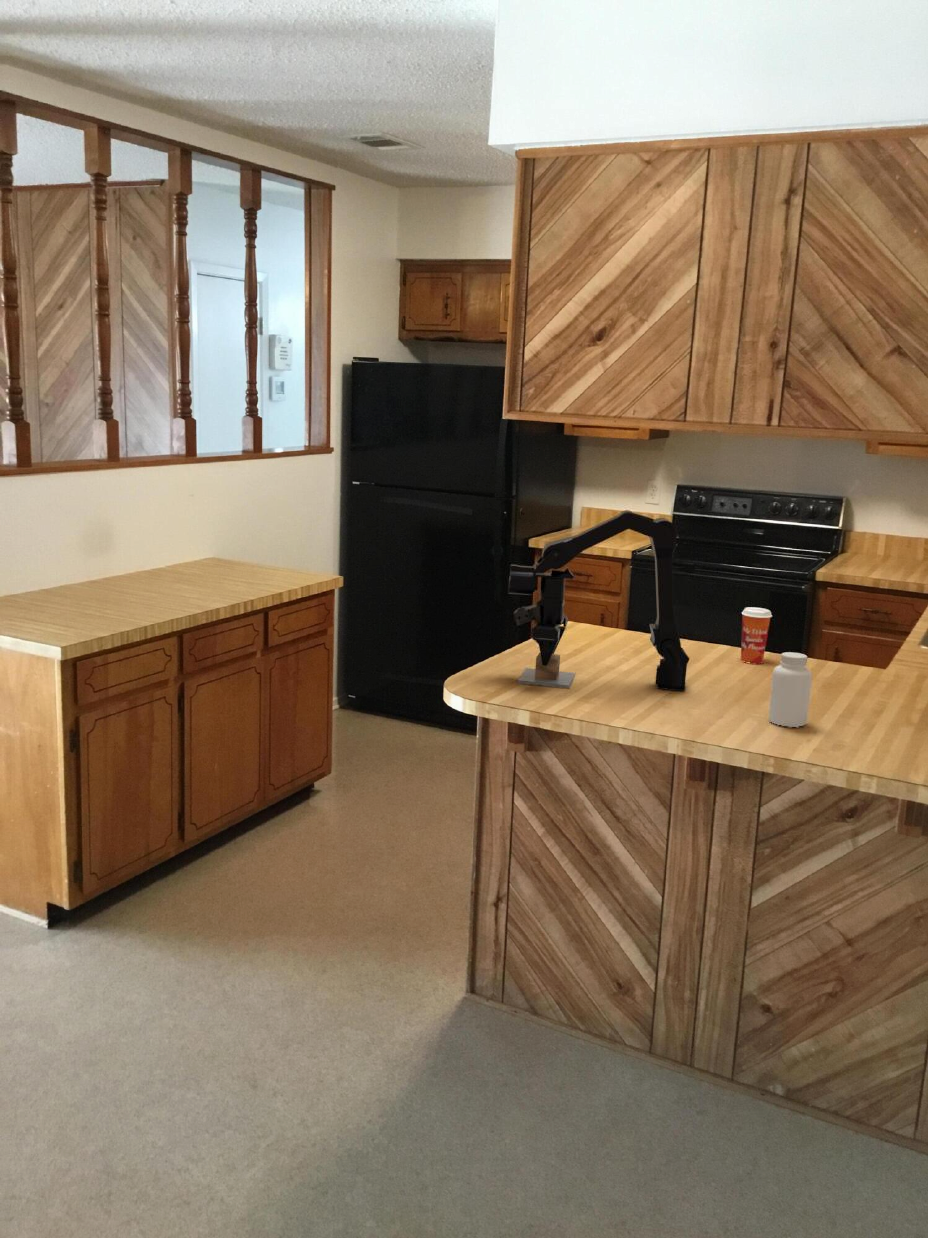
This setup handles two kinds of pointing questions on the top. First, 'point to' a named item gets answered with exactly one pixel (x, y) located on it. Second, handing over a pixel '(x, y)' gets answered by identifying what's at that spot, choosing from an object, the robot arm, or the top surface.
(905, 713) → the top surface
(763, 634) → the paper cup
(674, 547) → the robot arm
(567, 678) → the plate
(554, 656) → the walnut block
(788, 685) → the pill bottle
